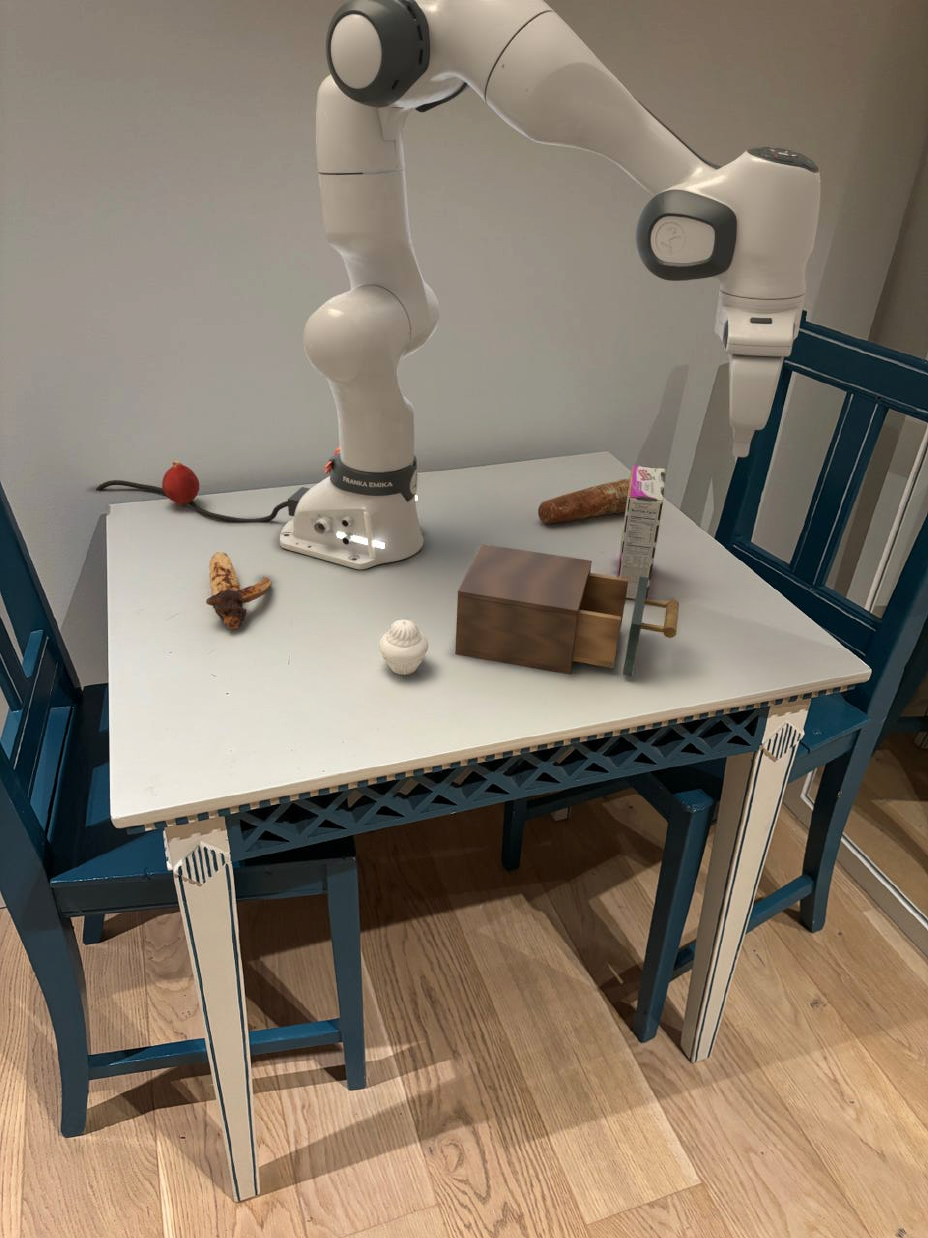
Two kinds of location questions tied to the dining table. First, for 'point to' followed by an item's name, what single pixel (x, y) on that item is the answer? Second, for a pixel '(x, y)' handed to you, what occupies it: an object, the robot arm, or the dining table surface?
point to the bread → (586, 503)
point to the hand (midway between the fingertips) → (738, 439)
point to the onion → (180, 484)
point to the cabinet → (521, 607)
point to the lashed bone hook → (231, 591)
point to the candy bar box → (641, 526)
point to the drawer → (615, 620)
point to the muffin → (403, 647)
